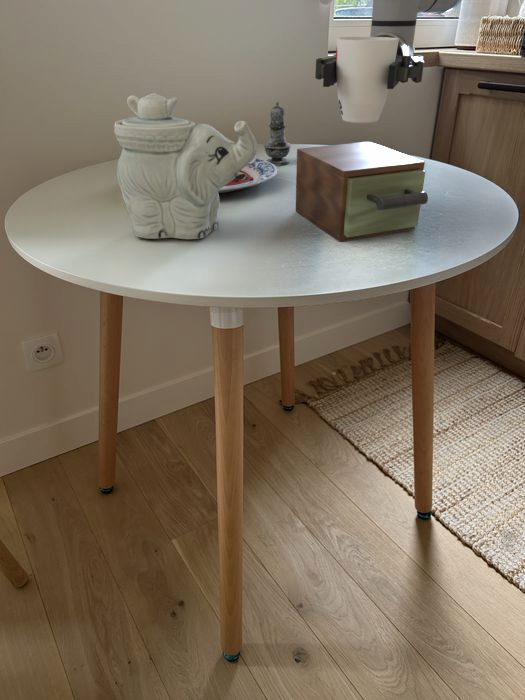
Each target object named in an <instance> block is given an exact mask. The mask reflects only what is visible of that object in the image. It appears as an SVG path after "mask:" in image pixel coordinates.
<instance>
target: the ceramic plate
mask: <svg viewBox="0 0 525 700" xmlns="http://www.w3.org/2000/svg"><path fill="white" fill-rule="evenodd" d="M277 174H278V167H277V166H276V165H274V164H272V163H270V162H268V161H266V160H265V159H262V158H259V157H254V158H253V159H252V161H251V162H250V163H249V164H248V165H247V166H245V167H244V168H243V169H242V170H240V171H239V172H238V174H237V176H236V177H235V179H233V180H232V181H231V182H229V183H228V184H227V185H225V186H223V187H222V188H220V189H219V190H218V194H223V193H224V194H225V193H232V192H234V191H240V190H242V189H246V188H250V187H253V186H257V185H260V184H263V183H266V182H268V181H270V180H272V179H273V178H274V177H276V175H277Z"/></svg>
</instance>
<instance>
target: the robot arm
mask: <svg viewBox="0 0 525 700" xmlns="http://www.w3.org/2000/svg"><path fill="white" fill-rule="evenodd" d="M462 1H463V0H372V12H371V25H370V34H369V37H390V38H398V39H399V41H398V47H397V53H396V59H395V62H393V63H392V64H390V65H389V74H388V83H387V89H389V90H394V89H395V88H396V86H397V85H399V82H400V83H401V84H406V83H407V82H409V79H410V80H411V81H412V83H415V84H418V83H422V81H423V74H424V66H425V61H424V55H422V54H420V55H419V54H417V55H416V56H414V55H415V47H414V41H415V35H416V25H417V20H418V15H420V14H422V15H423V14H425V15H427V14H428V15H441V14H444V13H448V12H450V11H453V10H454V9H455V8H457V7H458V6H459V5H460V3H461V2H462ZM314 79H316V80H322V81H323V82H322V88H329V87H332V86H335V84H337V78H336V53H335V54H333V55H330V56H325V57H318V58H316V59H315V75H314Z"/></svg>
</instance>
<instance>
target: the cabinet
mask: <svg viewBox="0 0 525 700" xmlns="http://www.w3.org/2000/svg"><path fill="white" fill-rule="evenodd" d="M425 163H426V162H425V161H424V160H421V159H419V158H416V157H413V156H410V155H407V154H405V153H402V152H399V151H396V150H394V149H392V148H389V147H386V146H383V145H381V144H377V143H374V142H372V141H360V142H349V143H340V144H332V145H331V144H330V145H321V146H320V145H319V146H312V147H309V146H308V147H300V148H299V147H298V148H296V174H295V175H296V176H295V177H296V179H295V180H296V181H295V182H296V183H295V212H296V213H297V214H299V215H300V216H301V217H303V218H304V219H306V220H308V221H309V222H310V223H312V224H313V225H314V226H316V227H318V228H319V229H320V230H322V231H323V232H325V233H326V234H327V235H328V236H330V237H332V238H333V239H335V240H336V241H338V242H346V241H351V240H352V241H353V240H358V239H364V238H370V237H377V236H383V235H389V234H395V233H400V232H401V233H402V232H406V231H413V230H416V227H409V228H403V229H397V230H391V231H385V232H379V233H372V234H366V235H360V236H354V237H346V236H345V235H344V222H345V208H346V194H347V181H348V178H349V177H356V176H364V175H372V174H380V173H388V172H397V171H405V170H409V171H410V170H418V169H421V170H424V171H425V165H426V164H425Z"/></svg>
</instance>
